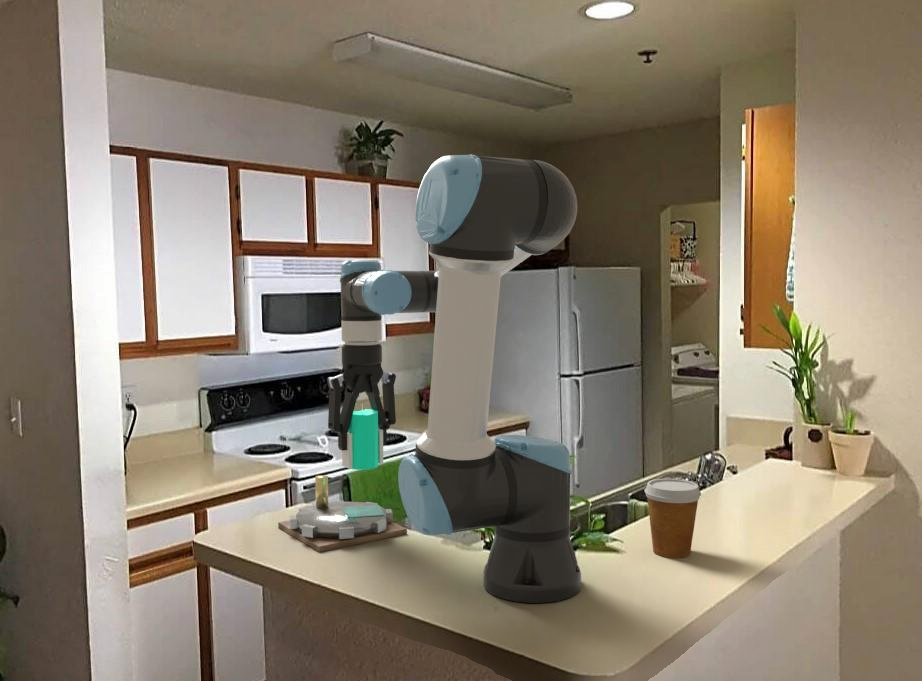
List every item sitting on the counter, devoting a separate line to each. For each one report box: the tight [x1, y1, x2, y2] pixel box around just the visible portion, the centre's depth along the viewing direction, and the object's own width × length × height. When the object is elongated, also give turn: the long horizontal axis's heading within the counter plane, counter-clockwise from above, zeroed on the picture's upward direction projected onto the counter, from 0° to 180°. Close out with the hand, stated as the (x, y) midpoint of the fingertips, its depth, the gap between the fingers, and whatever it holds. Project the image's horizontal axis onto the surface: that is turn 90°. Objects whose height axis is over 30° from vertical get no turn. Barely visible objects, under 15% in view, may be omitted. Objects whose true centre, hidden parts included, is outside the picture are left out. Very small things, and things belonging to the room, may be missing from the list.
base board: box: [277, 519, 408, 553], centre depth 158 cm, size 18×18×1 cm
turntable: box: [289, 474, 394, 539], centre depth 158 cm, size 19×19×8 cm
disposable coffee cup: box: [644, 478, 702, 559], centre depth 145 cm, size 10×10×12 cm
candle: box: [348, 403, 379, 471], centre depth 158 cm, size 6×6×12 cm
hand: (363, 464), depth 158 cm, fingers closed on candle, 6 cm apart
